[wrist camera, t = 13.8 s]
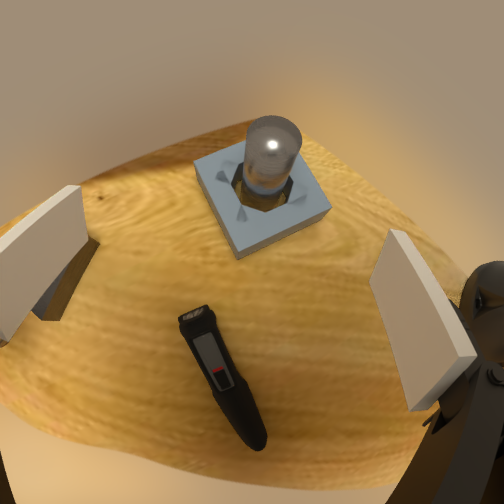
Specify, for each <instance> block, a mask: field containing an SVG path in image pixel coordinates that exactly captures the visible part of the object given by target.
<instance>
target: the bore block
mask: <svg viewBox="0 0 504 504" xmlns="http://www.w3.org/2000/svg"><path fill="white" fill-rule="evenodd" d="M245 145H246V140H245V141H243V142H240V143H238V144H235V145H232V146H230V147H227V148H225V149H222V150H220V151H217V152H215V153H212V154H210V155H208V156H205V157H203V158H200V159H198V160H196V161H193V162H194V167H195V171H196V176H197V180H198V182H199V184H200V186H201V188H202V190H203V192H204V194H205V196H206V198H207V200H208V202H209V204H210V206H211V208H212V210H213V212H214V214H215V216H216V218H217V220H218V222H219V224H220V226H221V228H222V230H223V233H224V235H225V237H226V239H227V241H228V243H229V245H230V247H231V249H232V251H233V253H234V255H235V257H236V259H237V260H239V259H241V258H243V257H245V256H247V255H249V254H251V253H253V252H255V251H257V250H259V249H261V248H264V247H266V246H268V245H270V244H272V243H274V242H276V241H278V240H280V239H282V238H284V237H286V236H288V235H290V234H293V233H295V232H297V231H299V230H301V229H303V228H305V227H307V226H309V225H311V224H313V223H315V222H317V221H319V220H321V219H322V218H323V217H324V216H325V215H326V214H327V212H328V211H329V210H330V209H331V208H332V206H331V204H330V202H329V201H328V199H327V197H326V196H325V194H324V192H323V191H322V189H321V187H320V186H319V184H318V182H317V181H316V179H315V177H314V176H313V174H312V172H311V171H310V169H309V167H308V166H307V164H306V163H305V161H304V160H303V158H302V156H301V155H300V153H298V155H297V158H296V160H295V162H294V165H293V167H292V170H291V172H290V174H289V177H288V179H287V181H286V184H285V186H284V189H283V192H284V194H285V196H286V197H287V198H286V201H285V204H284V205H281V206H279V207H277V208H275V209H273V210H270V211H268V212H266V213H265V212H262V211H259V210H256V209H253V208H250V207H247V206H244V205H241V203H240V201H239V199H238V197H237V195H236V193H235V191H234V189H235V186H236V184H237V181H239V180H242V174H243V164H244V155H245Z"/></svg>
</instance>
